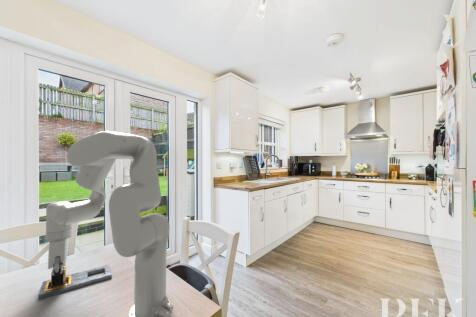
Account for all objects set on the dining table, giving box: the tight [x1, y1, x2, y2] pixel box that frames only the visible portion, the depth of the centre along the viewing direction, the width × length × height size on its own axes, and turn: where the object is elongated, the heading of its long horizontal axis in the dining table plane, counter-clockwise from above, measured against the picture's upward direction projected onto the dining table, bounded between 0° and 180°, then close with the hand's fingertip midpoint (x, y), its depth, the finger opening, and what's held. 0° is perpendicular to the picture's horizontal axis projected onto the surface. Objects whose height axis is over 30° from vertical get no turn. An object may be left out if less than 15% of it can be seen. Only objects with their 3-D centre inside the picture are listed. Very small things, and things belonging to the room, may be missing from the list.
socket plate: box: [38, 264, 113, 300], centre depth 83 cm, size 22×10×2 cm, turn 127°
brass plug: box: [50, 265, 67, 289], centre depth 79 cm, size 4×4×7 cm
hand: (58, 278), depth 79 cm, fingers open, 9 cm apart
